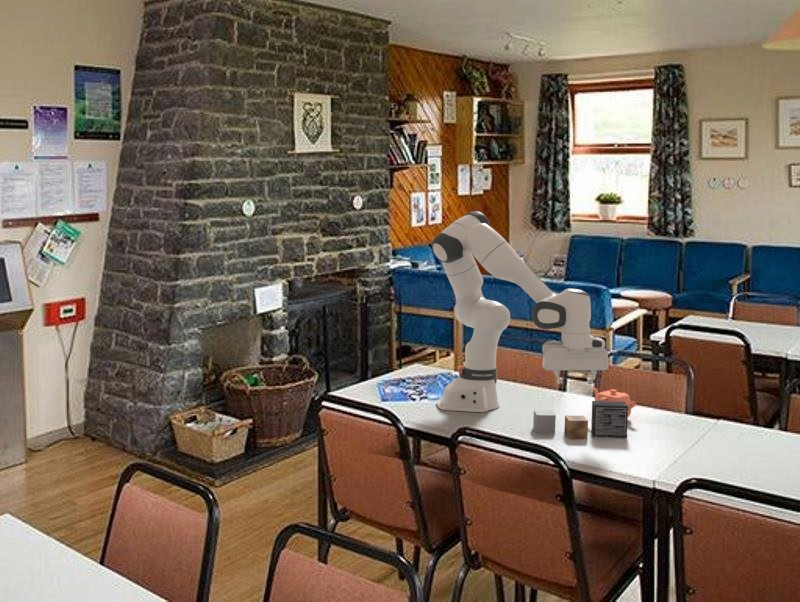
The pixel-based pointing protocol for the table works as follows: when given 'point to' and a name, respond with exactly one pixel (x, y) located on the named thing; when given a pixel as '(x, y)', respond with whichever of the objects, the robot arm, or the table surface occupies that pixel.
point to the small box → (609, 419)
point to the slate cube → (544, 421)
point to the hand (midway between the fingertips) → (574, 383)
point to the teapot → (614, 397)
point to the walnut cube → (576, 427)
